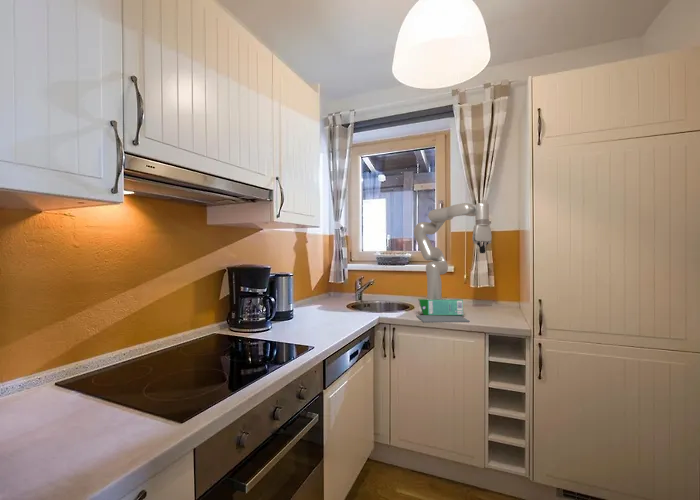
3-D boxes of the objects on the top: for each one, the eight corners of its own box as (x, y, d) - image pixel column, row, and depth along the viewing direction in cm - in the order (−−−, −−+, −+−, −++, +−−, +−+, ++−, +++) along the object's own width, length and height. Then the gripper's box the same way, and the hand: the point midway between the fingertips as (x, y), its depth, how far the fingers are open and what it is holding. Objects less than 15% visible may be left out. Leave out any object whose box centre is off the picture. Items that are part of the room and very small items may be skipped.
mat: (416, 316, 188) (416, 315, 188) (458, 316, 189) (458, 314, 189) (423, 322, 172) (423, 320, 172) (469, 322, 173) (469, 320, 173)
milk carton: (460, 314, 194) (418, 313, 197) (459, 299, 195) (417, 298, 198) (463, 315, 185) (419, 315, 188) (462, 299, 186) (419, 299, 189)
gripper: (491, 223, 200) (491, 253, 199) (467, 223, 199) (467, 253, 199) (497, 222, 192) (497, 253, 192) (472, 222, 192) (472, 253, 192)
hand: (482, 253), depth 195 cm, fingers closed
